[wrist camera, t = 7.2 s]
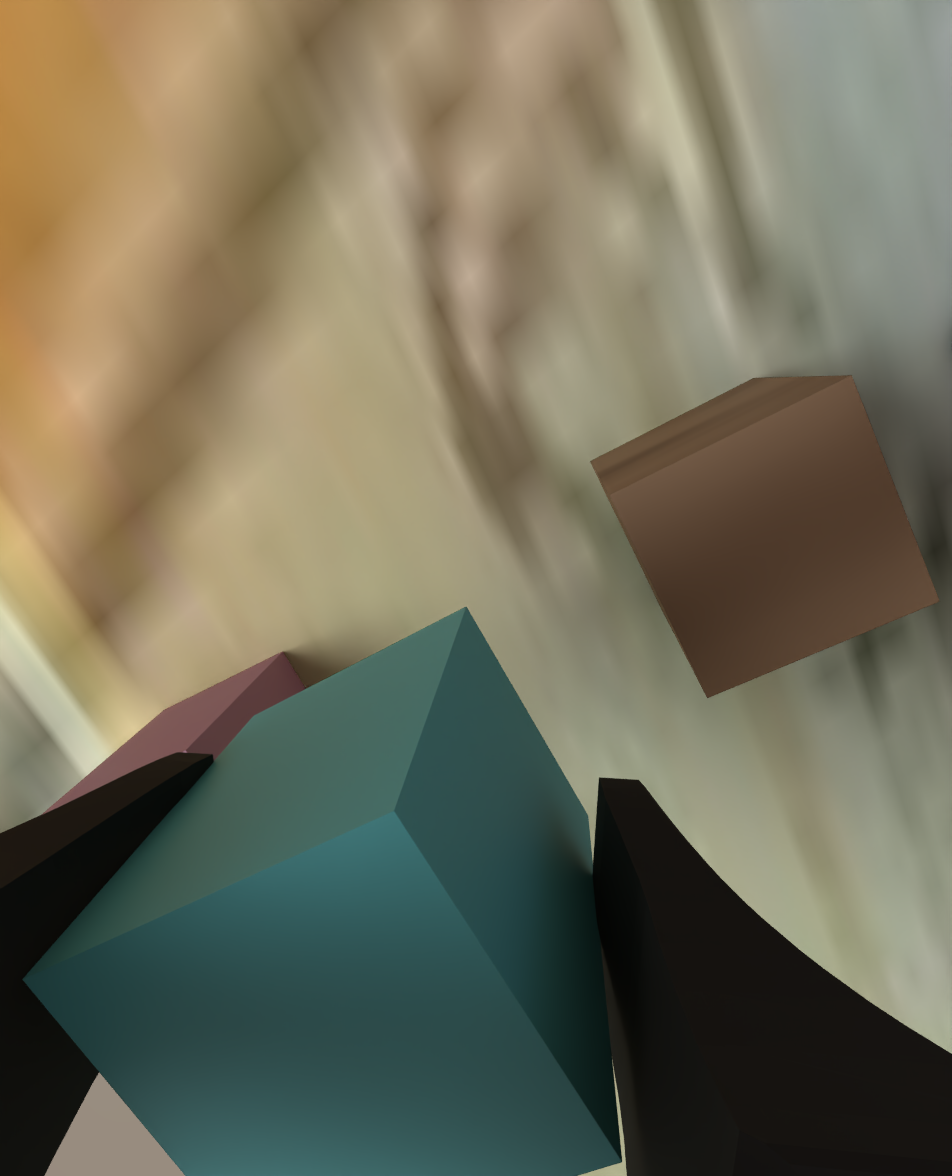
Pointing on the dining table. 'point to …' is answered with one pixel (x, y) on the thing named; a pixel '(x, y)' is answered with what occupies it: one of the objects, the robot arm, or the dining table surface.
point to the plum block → (198, 722)
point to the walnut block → (767, 526)
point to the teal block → (359, 941)
